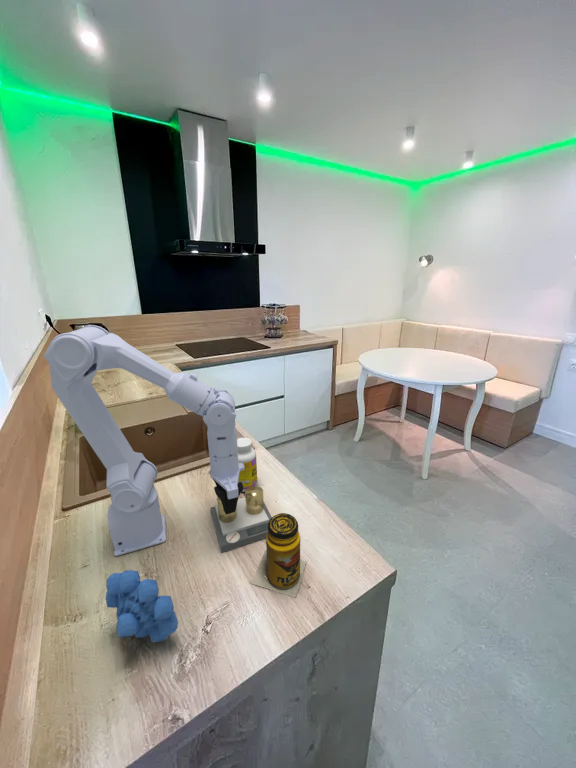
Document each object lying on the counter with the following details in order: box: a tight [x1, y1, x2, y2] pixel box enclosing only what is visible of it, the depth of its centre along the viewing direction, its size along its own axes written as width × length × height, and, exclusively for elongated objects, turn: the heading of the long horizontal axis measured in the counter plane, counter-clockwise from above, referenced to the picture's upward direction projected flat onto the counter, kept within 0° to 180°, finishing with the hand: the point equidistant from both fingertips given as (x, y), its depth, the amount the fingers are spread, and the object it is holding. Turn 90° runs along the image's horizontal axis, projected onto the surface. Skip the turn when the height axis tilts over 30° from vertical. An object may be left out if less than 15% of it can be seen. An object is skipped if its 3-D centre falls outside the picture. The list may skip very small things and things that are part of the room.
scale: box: [210, 497, 273, 554], centre depth 68 cm, size 12×12×2 cm
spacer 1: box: [216, 497, 237, 523], centre depth 67 cm, size 4×4×5 cm
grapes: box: [105, 569, 179, 643], centre depth 45 cm, size 12×7×12 cm, turn 74°
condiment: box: [250, 512, 307, 598], centre depth 55 cm, size 7×8×12 cm
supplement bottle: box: [237, 437, 258, 493], centre depth 79 cm, size 7×7×13 cm
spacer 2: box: [244, 485, 265, 515], centre depth 69 cm, size 4×4×5 cm
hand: (227, 505), depth 67 cm, fingers closed on spacer 1, 4 cm apart
